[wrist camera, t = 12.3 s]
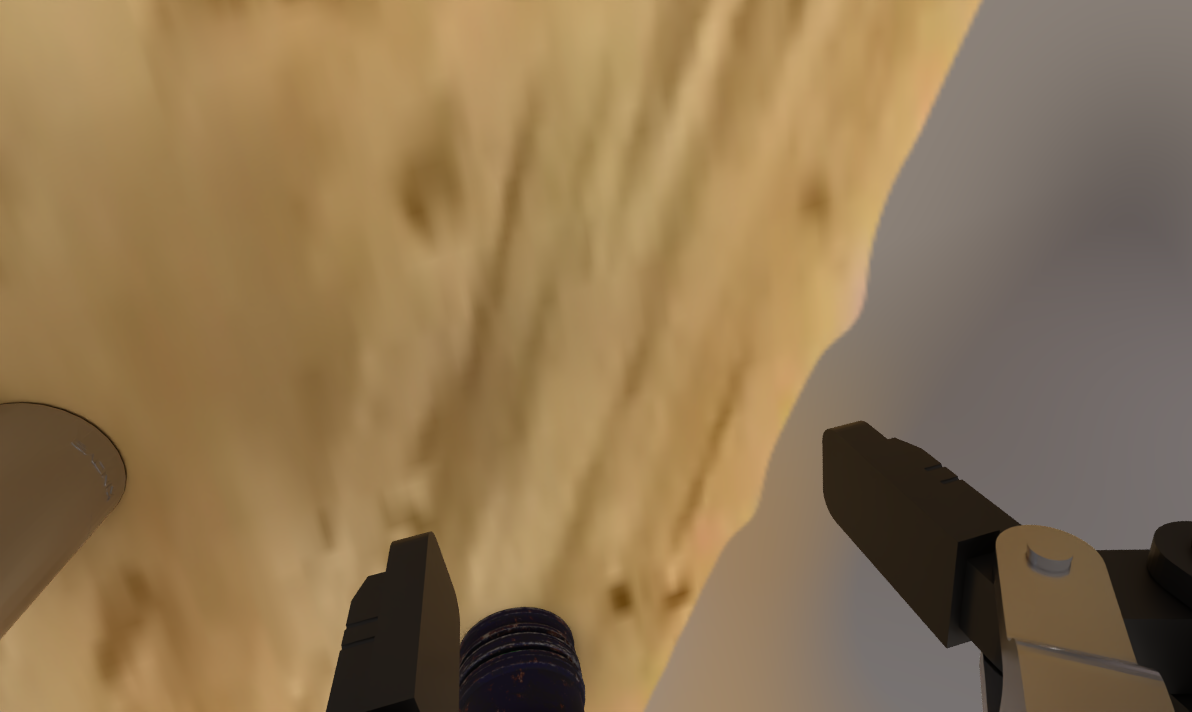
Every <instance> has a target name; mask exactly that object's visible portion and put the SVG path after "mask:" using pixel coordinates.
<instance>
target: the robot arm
mask: <svg viewBox="0 0 1192 712" xmlns="http://www.w3.org/2000/svg"><path fill="white" fill-rule="evenodd" d="M822 443H823V493H824V498H825V502H826V505H827V508H828V510H829V512H830V514H831V516H832V517H833V519H834V520H835V521H836V523H837V524H838V525H839V526H840V527H841V528H842V529H843V531H844V532H845V533H846V534H847V535H848V536H849V537H850V538H851V539H852V541H853V542H854V543H855V544H856V545H857V547H859V549H860V550H861V551H862V552H863V553H864V554H865V556H866V557H867V558H868V559H869V560H870V561H871V562H872V563H873V565H874V566H875V567H876V568H877V569H878V570H879V572H880V573H881V574H882V575H883V576H884V577H885V578H886V579H887V580H888V582H889V583H890V584H891V585H892V586H893V588H894V589H895V590H896V591H897V592H898V593H899V594H900V596H901V597H902V598H903V599H904V600H905V601H906V602H907V604H909V606H910V607H911V608H912V609H913V610H914V612H915V613H916V614H917V615H918V616H919V617H920V618H921V620H922V621H923V622H924V623H925V624H926V625H927V626H928V628H929V629H930V630H931V631H932V632H933V633H934V634H935V636H936V637H937V638H938V639H939V640H940V641H941V642H942V644H943V645H944V646H945V647H946V648H950V647H953V646H956V645H959V644H962V643H965V642H969V641H972V642H973V643H974V644H975V645H976V646H977V647H978V648H979V649H980V650H981V653H980V661H979V668H980V680H981V693H982V707H983V712H1192V522H1191V521H1180V522H1179V521H1178V522H1171V523H1168V524H1165V525H1163V526H1161V527H1159V528H1158V529H1157V530H1156V532H1155V534H1154V537H1153V541H1152V544H1151V548H1150V550H1095V549H1094V548H1093V547H1092V546H1090V545H1089V544H1088V543H1086V542H1085V541H1083V540H1081V539H1079V538H1078V537H1076V536H1073V535H1072V534H1069V533H1067V532H1064V531H1061V530H1058V529H1055V528H1051V527H1046V526H1038V525H1021V524H1019V523H1018V522H1016V521H1015V520H1014V519H1013V518H1012V517H1010V516H1009V515H1008V514H1006V513H1005V512H1004V511H1002V510H1001V509H1000V508H999V507H997V506H996V505H994V504H993V503H992V502H991V501H989V500H988V499H987V498H985V497H984V496H983V495H982V494H980V493H979V492H978V491H976V490H975V489H974V488H972V487H971V486H970V485H968V484H967V483H966V482H965V481H963V480H959V479H958V476H956V475H955V474H954V473H953V472H952V471H950V470H949V469H947V468H946V467H942V465H941V463H940V462H938V461H937V460H936V459H934V458H933V457H932V456H931V455H929V454H928V453H927V452H925V451H924V450H923V449H921V448H919V447H917V446H914V445H912V444H909V443H907V442H904V441H902V440H899V439H897V438H892V439H887V438H885V437H884V436H883V435H882V434H880V433H879V432H878V431H877V430H875V429H874V428H873V427H872V426H870V425H869V424H868V423H866V422H864V421H858V422H854V423H850V424H846V425H842V426H838V427H834V428H830V429H827V430H825V432H824V434H823V440H822ZM125 481H126V476H125V469H124V464H123V462H122V460H121V457H120V455H119V453H118V451H117V450H116V448H115V447H114V446H113V444H112V443H111V442H110V440H109V439H108V438H107V437H106V436H105V435H103V434H102V433H101V432H100V431H99V430H98V429H97V428H96V427H94V426H93V425H91V424H89V423H88V422H86V421H85V420H83V419H81V418H80V417H77V416H75V415H73V414H70V413H68V412H66V411H63V410H60V409H56V408H53V407H49V406H45V405H38V404H29V403H12V404H1V405H0V639H1V638H2V637H3V636H4V635H5V634H6V632H7V631H8V630H9V629H10V628H11V627H12V626H13V624H14V623H15V622H16V621H17V620H18V619H19V617H20V616H21V615H22V614H23V613H24V612H25V611H26V609H27V608H28V607H29V606H30V605H31V604H32V602H33V601H34V600H35V599H36V598H37V597H38V596H39V594H40V593H41V592H42V591H43V590H44V589H45V587H46V586H47V585H48V584H49V583H50V582H51V581H52V579H53V578H54V577H55V576H56V575H57V574H58V572H59V571H60V570H61V569H62V568H63V567H64V566H65V564H66V563H67V562H68V561H69V560H70V559H71V557H72V556H73V555H74V554H75V553H76V552H77V550H78V549H79V548H80V547H81V546H82V545H83V544H84V543H85V541H86V540H87V539H88V538H89V537H90V536H91V534H92V533H93V532H94V531H95V530H96V529H97V527H98V526H99V525H100V524H101V523H102V521H103V520H104V519H105V518H106V517H107V516H108V514H109V513H110V512H111V511H112V510H113V509H114V507H115V506H116V505H117V504H118V503H119V501H120V499H121V497H122V494H123V492H124V488H125ZM346 627H347V629H346V630H345V631H344V636H343V640H342V644H341V646H342V650H341V651H340V653H339V657H338V662H337V666H336V670H335V675H334V679H333V683H332V688H331V692H330V696H329V701H328V705H327V709H326V712H459V661H460V616H459V608H458V603H457V598H456V594H455V590H454V587H453V585H452V582H451V579H450V576H449V573H448V570H447V568H446V565H445V562H444V559H443V556H442V554H441V551H440V548H439V545H438V542H437V540H436V537H435V535H434V534H433V532H427V533H423V534H420V535H416V536H412V537H408V538H404V539H400V540H397V541H393V542H392V543H391V546H390V551H389V556H388V562H387V568H386V572H383V573H379V574H375V575H371V576H368V577H367V578H366V580H365V581H364V583H363V584H362V586H361V587H360V589H359V590H358V592H357V593H356V595H355V596H354V598H353V599H352V601H351V605H350V610H349V614H348V618H347V623H346Z"/></svg>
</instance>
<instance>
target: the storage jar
mask: <svg viewBox="0 0 1192 712" xmlns="http://www.w3.org/2000/svg"><path fill="white" fill-rule="evenodd" d="M584 705H585V685H584V682H583V679H582V673H581V668H580V663H579V660H578V657H577V655H576V652H575V648H574V640H573V636H572V633H571V630H570V629H569V627H568V625H567V624H566V623H565V622H564V621H563V620H562V619H561V618H560V617H558V616H557V615H555V614H553V613H551V612H549V611H546V610H543V609H538V608H530V607H520V608H511V609H506V610H503V611H499V612H497V613H494V614H492V615H490V616H488V617H486V618H484V619H483V620H481V621H480V622H478V623H477V624H476V625H474V626H473V627H472V628H471V629H470V630H469V631H468V632H467V634H466V635H465V637H464V638H463V640H462V642H461V644H460V661H459V712H584Z"/></svg>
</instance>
